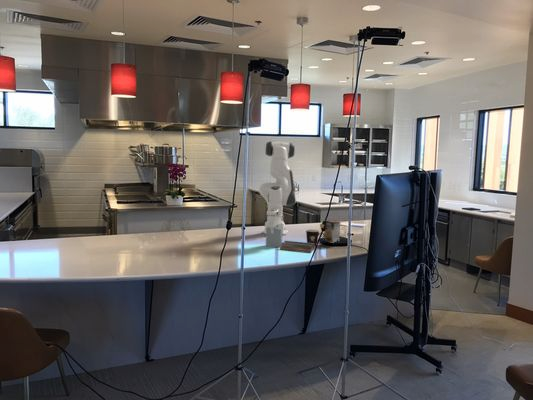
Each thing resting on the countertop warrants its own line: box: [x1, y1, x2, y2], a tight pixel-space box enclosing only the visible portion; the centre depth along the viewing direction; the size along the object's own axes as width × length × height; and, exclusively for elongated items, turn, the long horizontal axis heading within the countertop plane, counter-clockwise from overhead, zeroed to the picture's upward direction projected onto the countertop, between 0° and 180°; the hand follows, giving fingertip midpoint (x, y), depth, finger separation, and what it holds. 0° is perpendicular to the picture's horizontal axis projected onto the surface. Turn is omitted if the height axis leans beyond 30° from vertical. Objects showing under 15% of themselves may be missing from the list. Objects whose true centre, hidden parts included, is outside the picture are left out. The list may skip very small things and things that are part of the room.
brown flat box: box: [279, 240, 316, 254], centre depth 295 cm, size 14×20×4 cm
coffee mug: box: [305, 229, 324, 246], centre depth 307 cm, size 12×9×10 cm
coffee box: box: [323, 219, 341, 243], centre depth 312 cm, size 9×6×16 cm
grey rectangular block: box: [265, 227, 283, 248], centre depth 302 cm, size 3×10×12 cm, turn 71°
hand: (274, 232), depth 301 cm, fingers open, 8 cm apart
